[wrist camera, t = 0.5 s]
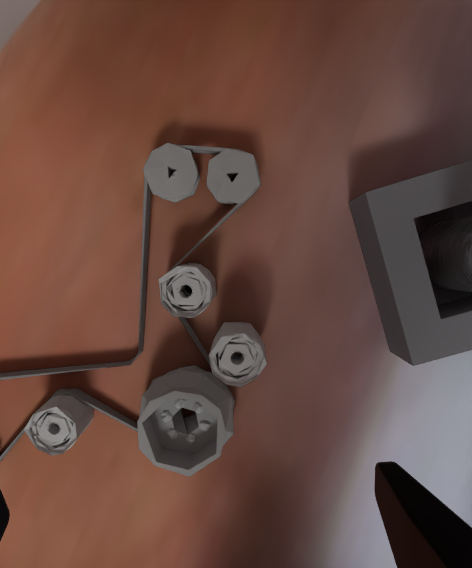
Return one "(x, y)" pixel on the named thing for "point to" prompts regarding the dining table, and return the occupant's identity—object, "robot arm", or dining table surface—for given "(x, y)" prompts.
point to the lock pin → (449, 254)
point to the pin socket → (413, 264)
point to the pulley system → (181, 303)
